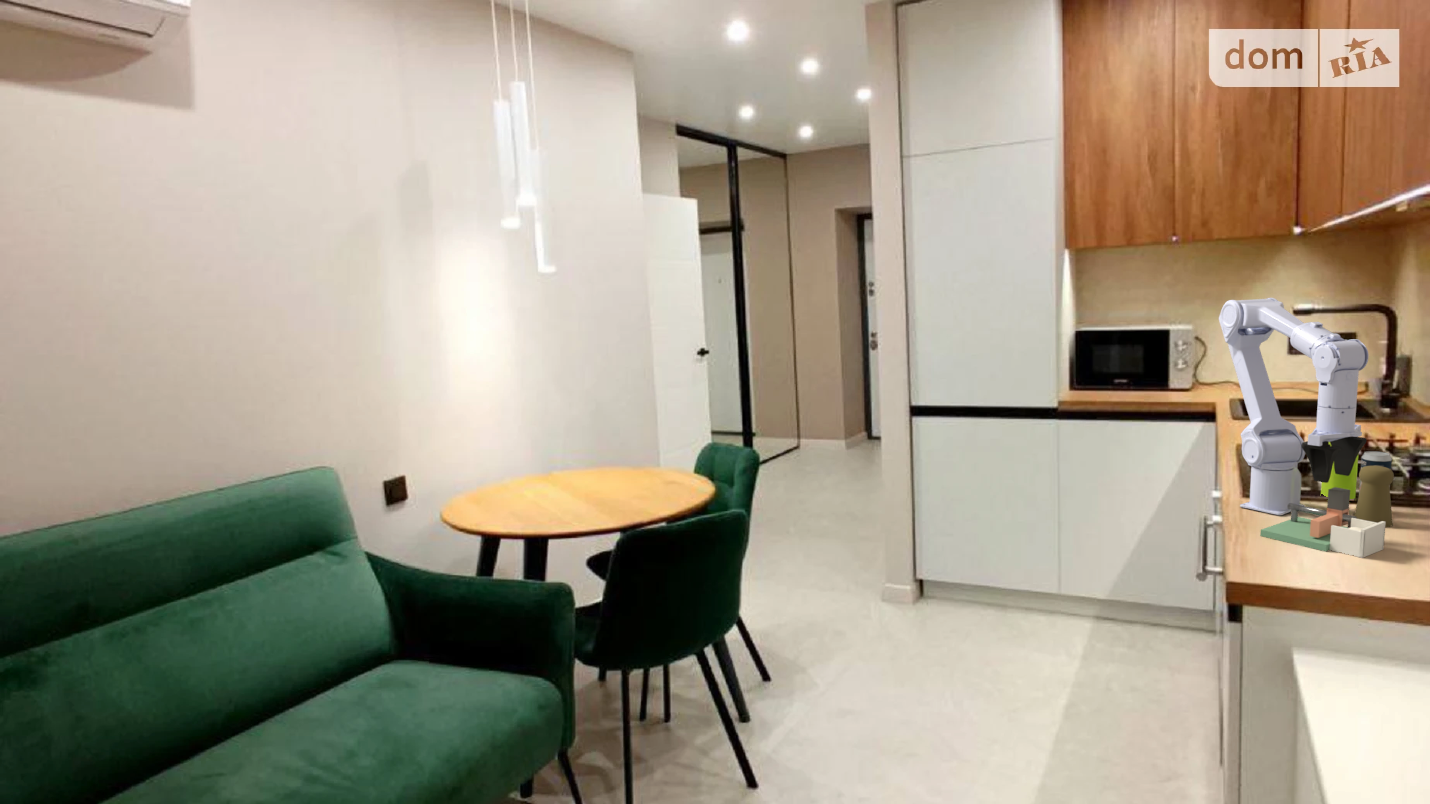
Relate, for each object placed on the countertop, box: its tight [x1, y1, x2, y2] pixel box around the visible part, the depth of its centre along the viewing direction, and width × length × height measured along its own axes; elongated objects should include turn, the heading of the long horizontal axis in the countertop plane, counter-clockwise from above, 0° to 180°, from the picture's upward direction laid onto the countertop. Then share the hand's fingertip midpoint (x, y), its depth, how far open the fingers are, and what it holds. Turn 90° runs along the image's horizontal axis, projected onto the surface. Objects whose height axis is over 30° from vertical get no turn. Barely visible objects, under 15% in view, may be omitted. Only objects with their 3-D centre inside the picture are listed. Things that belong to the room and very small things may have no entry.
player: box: [1310, 487, 1350, 538], centre depth 151 cm, size 9×2×7 cm, turn 119°
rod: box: [1288, 503, 1357, 528], centre depth 155 cm, size 1×11×3 cm, turn 29°
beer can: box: [1358, 450, 1393, 495], centre depth 165 cm, size 5×5×12 cm
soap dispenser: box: [1320, 442, 1360, 499], centre depth 175 cm, size 6×7×20 cm
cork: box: [1353, 466, 1395, 528], centre depth 159 cm, size 6×6×11 cm
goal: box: [1329, 518, 1386, 559], centre depth 146 cm, size 7×5×5 cm
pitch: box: [1260, 516, 1348, 552], centre depth 154 cm, size 13×11×1 cm
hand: (1331, 478), depth 155 cm, fingers open, 7 cm apart
